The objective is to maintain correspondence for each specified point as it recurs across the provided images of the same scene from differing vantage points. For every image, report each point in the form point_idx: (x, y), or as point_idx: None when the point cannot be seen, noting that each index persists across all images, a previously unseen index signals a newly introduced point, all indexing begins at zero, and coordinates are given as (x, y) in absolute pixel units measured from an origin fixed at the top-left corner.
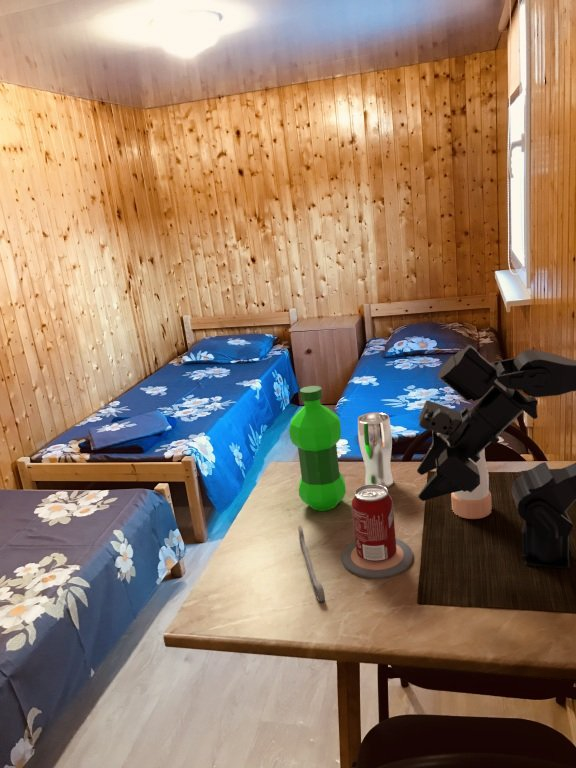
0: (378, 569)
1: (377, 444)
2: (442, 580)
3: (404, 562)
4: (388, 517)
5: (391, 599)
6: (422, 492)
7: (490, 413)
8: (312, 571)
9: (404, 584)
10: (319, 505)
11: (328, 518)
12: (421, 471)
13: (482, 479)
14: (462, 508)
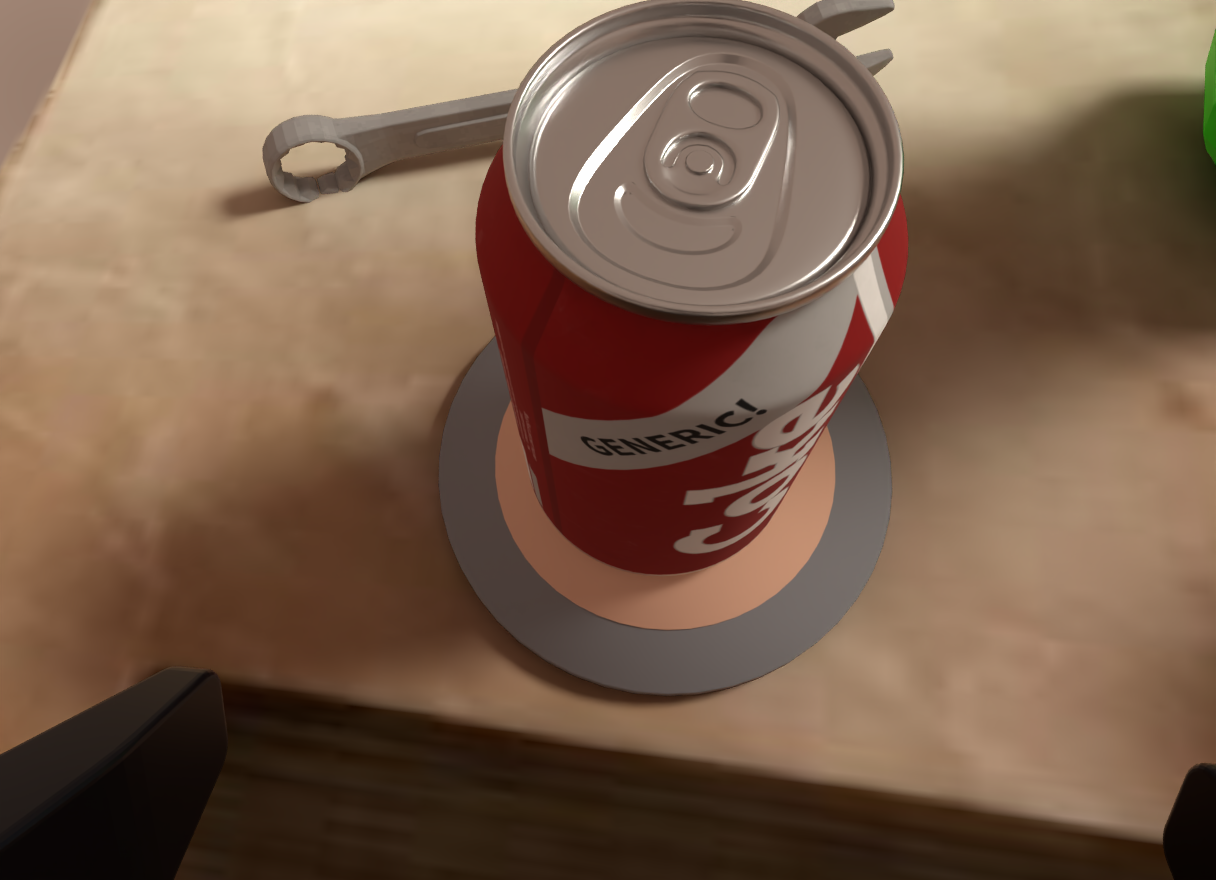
0: (496, 459)
1: None
2: (351, 873)
3: (556, 626)
4: (541, 410)
5: (230, 523)
6: (56, 733)
7: None
8: (456, 107)
9: (357, 610)
10: (1204, 112)
11: (1127, 204)
12: (1207, 852)
13: None
14: None
